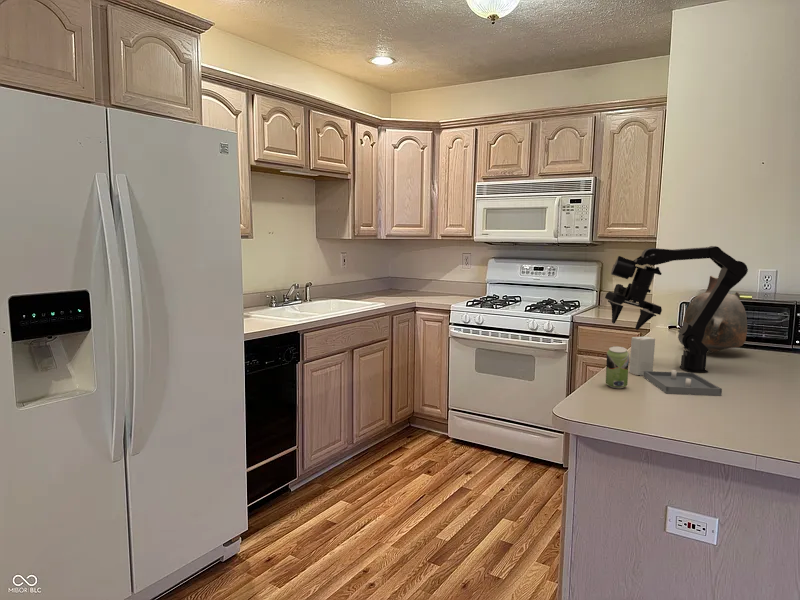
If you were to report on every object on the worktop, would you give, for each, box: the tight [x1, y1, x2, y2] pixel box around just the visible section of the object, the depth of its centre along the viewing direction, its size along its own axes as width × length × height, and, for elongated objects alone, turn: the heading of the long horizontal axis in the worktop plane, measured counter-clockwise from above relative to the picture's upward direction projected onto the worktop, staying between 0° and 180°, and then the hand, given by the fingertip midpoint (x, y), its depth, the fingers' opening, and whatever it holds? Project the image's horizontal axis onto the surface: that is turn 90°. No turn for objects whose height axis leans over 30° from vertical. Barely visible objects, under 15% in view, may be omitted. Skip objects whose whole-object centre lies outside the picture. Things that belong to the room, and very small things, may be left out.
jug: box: [682, 275, 748, 354], centre depth 208 cm, size 24×21×30 cm
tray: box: [643, 369, 723, 397], centre depth 162 cm, size 15×18×4 cm
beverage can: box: [605, 346, 630, 389], centre depth 159 cm, size 6×7×12 cm
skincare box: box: [628, 336, 656, 376], centre depth 175 cm, size 6×4×12 cm
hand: (624, 326), depth 186 cm, fingers open, 9 cm apart
